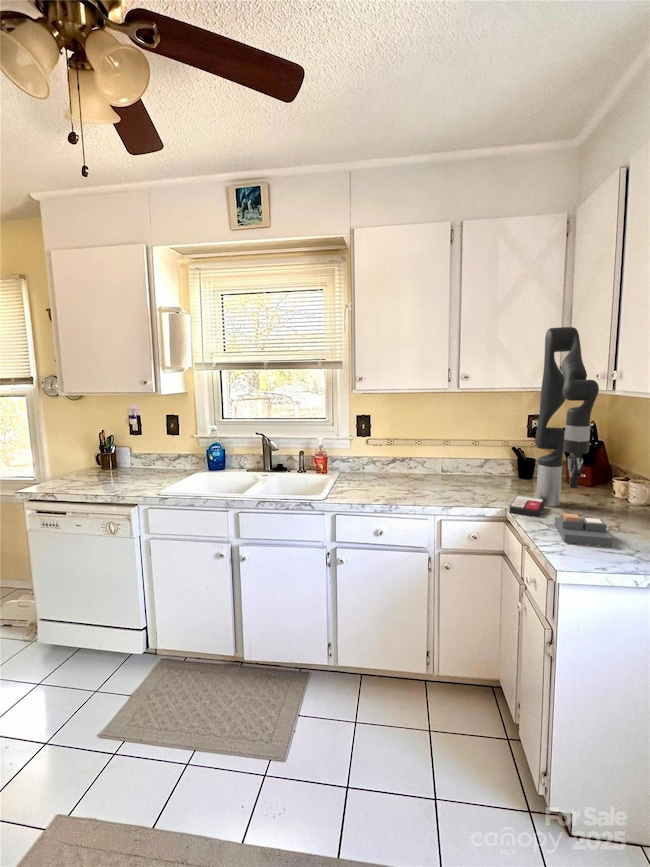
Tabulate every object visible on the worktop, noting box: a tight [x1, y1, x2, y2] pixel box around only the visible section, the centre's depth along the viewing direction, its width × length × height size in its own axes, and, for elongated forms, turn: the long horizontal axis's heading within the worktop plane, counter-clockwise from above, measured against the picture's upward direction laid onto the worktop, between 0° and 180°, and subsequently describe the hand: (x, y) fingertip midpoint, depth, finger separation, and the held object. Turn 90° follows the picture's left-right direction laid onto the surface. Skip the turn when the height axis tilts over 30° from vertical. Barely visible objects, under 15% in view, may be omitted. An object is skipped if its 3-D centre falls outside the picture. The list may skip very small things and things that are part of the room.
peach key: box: [562, 512, 581, 522], centre depth 156 cm, size 4×4×2 cm
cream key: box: [584, 517, 603, 524], centre depth 154 cm, size 4×4×2 cm
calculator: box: [509, 495, 545, 518], centre depth 184 cm, size 11×4×15 cm
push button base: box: [553, 515, 614, 548], centre depth 155 cm, size 18×14×6 cm
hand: (573, 487), depth 155 cm, fingers closed
